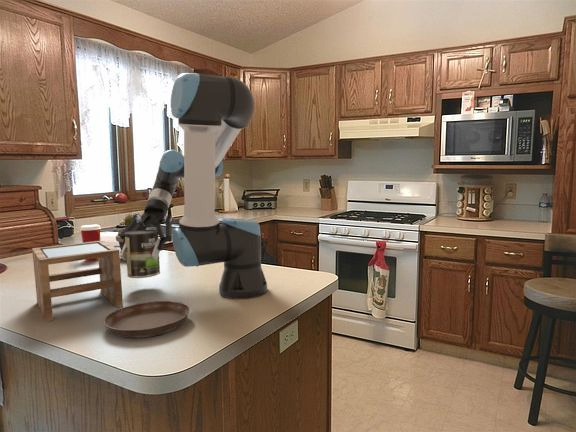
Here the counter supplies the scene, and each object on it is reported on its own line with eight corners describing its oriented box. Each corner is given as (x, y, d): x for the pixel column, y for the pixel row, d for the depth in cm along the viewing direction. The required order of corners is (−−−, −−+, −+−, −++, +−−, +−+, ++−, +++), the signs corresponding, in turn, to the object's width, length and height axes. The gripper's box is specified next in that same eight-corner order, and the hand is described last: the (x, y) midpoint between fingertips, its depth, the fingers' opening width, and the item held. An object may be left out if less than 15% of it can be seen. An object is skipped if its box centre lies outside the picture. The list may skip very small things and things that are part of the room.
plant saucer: (86, 332, 103) (85, 319, 102) (153, 307, 120) (152, 296, 120) (142, 350, 92) (141, 335, 91) (206, 320, 109) (206, 307, 109)
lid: (108, 253, 119) (108, 250, 119) (49, 261, 111) (48, 258, 110) (97, 246, 131) (96, 243, 131) (42, 252, 123) (42, 249, 123)
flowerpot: (157, 257, 184) (154, 212, 181) (120, 262, 175) (117, 215, 173) (147, 252, 196) (145, 209, 193) (113, 256, 187) (110, 212, 185)
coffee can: (167, 272, 138) (164, 230, 136) (141, 279, 129) (138, 234, 128) (146, 269, 143) (143, 228, 142) (120, 276, 135) (117, 233, 133)
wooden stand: (122, 305, 121) (119, 249, 119) (45, 321, 109) (39, 260, 107) (106, 290, 136) (103, 240, 134) (37, 302, 125) (32, 248, 123)
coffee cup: (107, 258, 183) (104, 225, 181) (89, 262, 176) (87, 227, 174) (95, 256, 187) (93, 223, 186) (78, 260, 181) (75, 226, 179)
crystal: (90, 240, 208) (137, 240, 207) (96, 231, 214) (142, 231, 213) (95, 251, 213) (141, 251, 212) (100, 242, 218) (145, 242, 217)
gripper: (191, 211, 147) (175, 264, 134) (132, 211, 151) (110, 264, 137) (185, 197, 142) (167, 251, 128) (123, 198, 145) (100, 251, 131)
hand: (138, 258), depth 133 cm, fingers closed on coffee can, 10 cm apart
